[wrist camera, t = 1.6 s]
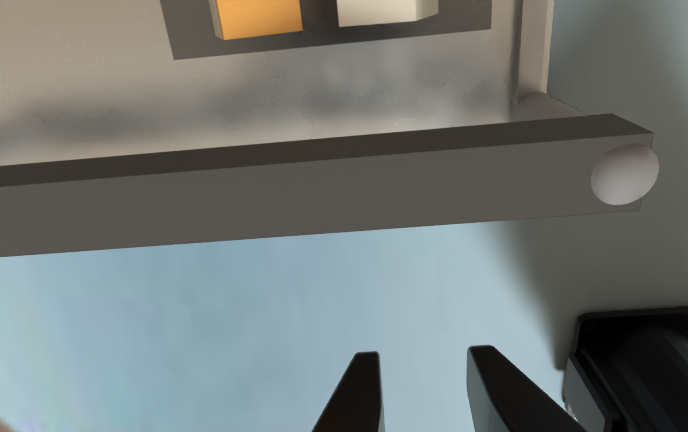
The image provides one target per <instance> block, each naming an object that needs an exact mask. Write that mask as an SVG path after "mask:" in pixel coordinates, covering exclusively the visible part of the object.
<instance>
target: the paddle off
mask: <svg viewBox="0 0 688 432" xmlns="http://www.w3.org/2000/svg"><path fill="white" fill-rule="evenodd" d="M209 5H210V10H211V15H212V20H213V25H214V30H215V35H216V36H217V37H219V38H221V39H223V40H229V39H237V38H246V37H254V36H262V35H271V34H279V33H287V32H296V31H303V29H302V21H301V12H300V4H299V0H209Z"/></svg>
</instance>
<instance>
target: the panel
mask: <svg viewBox="0 0 688 432" xmlns="http://www.w3.org/2000/svg"><path fill="white" fill-rule="evenodd" d="M299 4H300V12H301V21H302V29H303V31H296V32H287V33H279V34H271V35H262V36H254V37H246V38H237V39H229V40H223V39H221V38H219V37H217V36H216V35H215V30H214V25H213V20H212V15H211V10H210V5H209V0H0V166H4V165H16V164H28V163H39V162H51V161H63V160H74V159H86V158H98V157H109V156H121V155H133V154H145V153H156V152H168V151H180V150H191V149H203V148H215V147H227V146H238V145H250V144H262V143H273V142H285V141H297V140H308V139H320V138H332V137H344V136H355V135H367V134H379V133H390V132H402V131H414V130H425V129H437V128H449V127H461V126H472V125H484V124H496V123H507V122H511V121H510V117H509V114H510V108H511V106H512V104H514V105H516V106H517V105H518V104H519V103H520V102H521V101H522V100H523V99H524V98H525V97H527V96H529V95H531V94H534V93H540V91H541V92H544V93H546V92H547V80H548V68H549V57H550V45H551V34H552V22H553V10H554V0H438V14H435V15H432V16H429V17H426V18H423V19H420V20H417V21H409V22H396V23H384V24H371V25H358V26H345V27H339V19H338V8H337V0H299Z"/></svg>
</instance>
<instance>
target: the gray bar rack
mask: <svg viewBox="0 0 688 432" xmlns="http://www.w3.org/2000/svg"><path fill="white" fill-rule="evenodd" d="M509 117H510V121H511V122H507V123H496V124H484V125H472V126H461V127H449V128H437V129H425V130H414V131H402V132H390V133H379V134H367V135H355V136H344V137H332V138H320V139H308V140H297V141H285V142H273V143H262V144H250V145H238V146H227V147H215V148H203V149H191V150H180V151H168V152H156V153H145V154H133V155H121V156H109V157H98V158H86V159H74V160H63V161H51V162H39V163H28V164H16V165H4V166H0V257H9V256H22V255H36V254H50V253H64V252H77V251H91V250H105V249H118V248H132V247H146V246H160V245H173V244H187V243H201V242H215V241H228V240H242V239H256V238H270V237H283V236H297V235H311V234H324V233H338V232H352V231H366V230H379V229H393V228H407V227H421V226H434V225H448V224H462V223H476V222H489V221H503V220H517V219H530V218H544V217H558V216H572V215H585V214H599V213H613V212H627V211H639V209H640V203H641V198H642V196H643V195H645V194H646V193H647V192H648V191H649V190H650V189H651V188H652V186H653V185H654V183H655V182H656V180H657V177H658V174H659V160H658V157H657V155H656V153H655V152H654V151H653V150H652V149H651V145H652V139H653V134H654V133H653V132H650V131H648V130H646V129H644V128H642V127H640V126H637V125H635V124H633V123H631V122H629V121H627V120H624V119H622V118H620V117H618V116H616V115H614V114H601V115H589V116H588V115H586V114H584V113H582V112H580V111H578V110H577V109H575V108H573V107H571V106H569V105H567V104H565V103H563V102H561V101H559V100H557V99H555V98H553V97H551V96H550V95H548V94H546V93H544V92H541V91H540V93H534V94H531V95H529V96H527V97H525V98H524V99H523V100H522V101H521V102H520V103H519V104H518V105H517V106H516V105H514V104H512V106H511V108H510V114H509Z"/></svg>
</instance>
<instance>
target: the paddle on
mask: <svg viewBox="0 0 688 432" xmlns="http://www.w3.org/2000/svg"><path fill="white" fill-rule="evenodd" d="M337 8H338V19H339V27H345V26H358V25H371V24H384V23H396V22H409V21H417V20H420V19H423V18H426V17H429V16H432V15H435V14H438V0H337Z"/></svg>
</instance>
